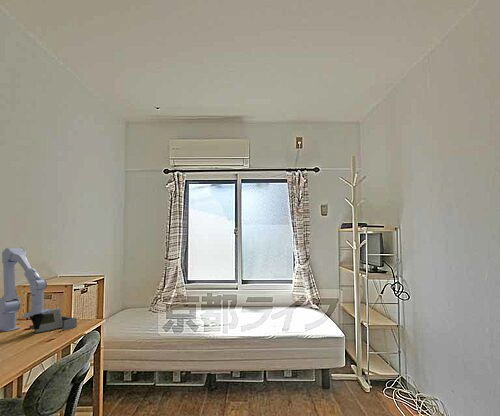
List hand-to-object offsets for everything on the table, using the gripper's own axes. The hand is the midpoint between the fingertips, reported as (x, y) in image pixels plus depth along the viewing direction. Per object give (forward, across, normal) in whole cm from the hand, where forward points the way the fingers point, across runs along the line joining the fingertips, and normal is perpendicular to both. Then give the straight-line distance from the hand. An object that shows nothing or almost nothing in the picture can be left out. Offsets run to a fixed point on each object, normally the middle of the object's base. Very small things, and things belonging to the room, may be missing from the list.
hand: (36, 329), depth 221 cm
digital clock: (+3, +8, +2) cm, 9 cm away
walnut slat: (+3, +13, +13) cm, 19 cm away
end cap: (+2, +15, 0) cm, 16 cm away
